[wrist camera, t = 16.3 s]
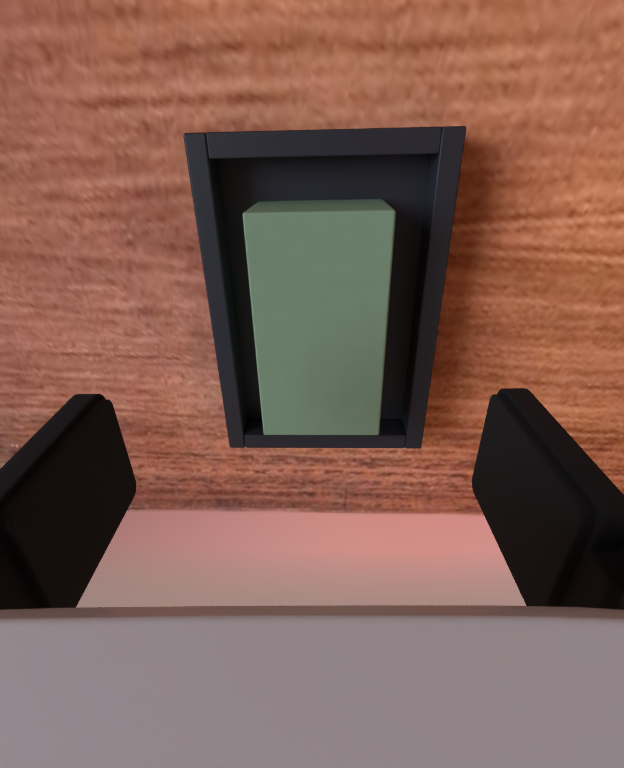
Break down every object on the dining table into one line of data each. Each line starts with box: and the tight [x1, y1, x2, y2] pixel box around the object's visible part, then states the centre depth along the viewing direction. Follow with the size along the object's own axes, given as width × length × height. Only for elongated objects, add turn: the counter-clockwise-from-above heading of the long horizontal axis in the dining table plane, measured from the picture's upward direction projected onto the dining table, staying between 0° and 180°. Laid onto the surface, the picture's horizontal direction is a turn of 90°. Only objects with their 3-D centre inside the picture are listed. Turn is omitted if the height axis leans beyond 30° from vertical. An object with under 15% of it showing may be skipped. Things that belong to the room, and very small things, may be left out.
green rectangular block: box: [243, 199, 396, 435], centre depth 17 cm, size 5×9×4 cm, turn 1°
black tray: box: [184, 126, 466, 448], centre depth 18 cm, size 10×14×2 cm
